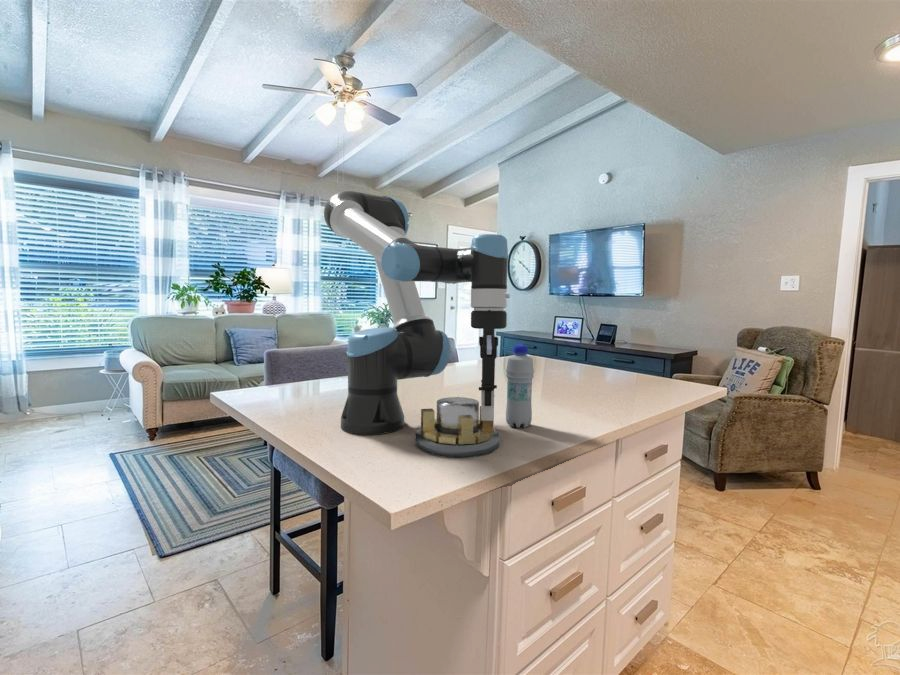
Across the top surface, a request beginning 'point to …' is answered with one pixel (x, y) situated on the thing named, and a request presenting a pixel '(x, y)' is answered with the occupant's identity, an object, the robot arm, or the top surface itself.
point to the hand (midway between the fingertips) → (487, 419)
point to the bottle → (519, 387)
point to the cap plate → (456, 447)
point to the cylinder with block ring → (464, 429)
